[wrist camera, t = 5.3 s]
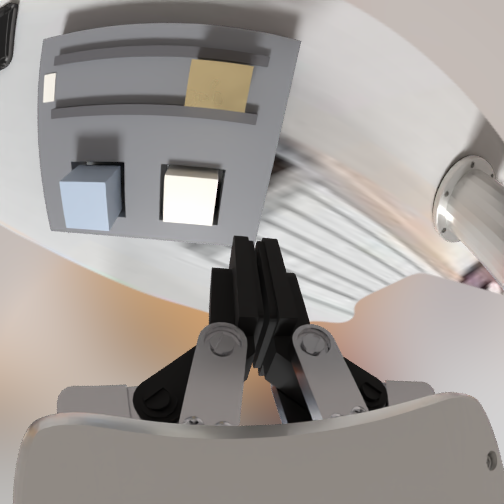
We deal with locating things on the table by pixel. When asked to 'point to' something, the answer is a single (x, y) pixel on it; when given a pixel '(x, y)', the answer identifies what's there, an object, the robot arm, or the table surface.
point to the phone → (7, 33)
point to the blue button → (92, 197)
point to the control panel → (161, 121)
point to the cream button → (190, 194)
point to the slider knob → (218, 85)
